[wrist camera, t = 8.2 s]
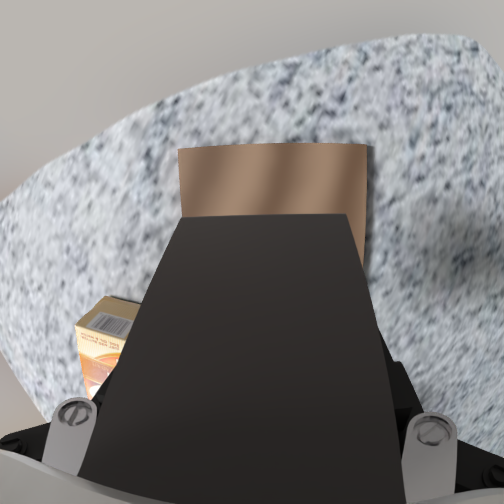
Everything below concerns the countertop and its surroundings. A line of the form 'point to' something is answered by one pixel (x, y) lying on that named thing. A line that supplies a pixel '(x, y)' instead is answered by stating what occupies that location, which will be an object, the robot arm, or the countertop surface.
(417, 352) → the countertop surface
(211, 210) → the walnut board
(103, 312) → the coffeecake box
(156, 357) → the phone stand
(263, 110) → the countertop surface
